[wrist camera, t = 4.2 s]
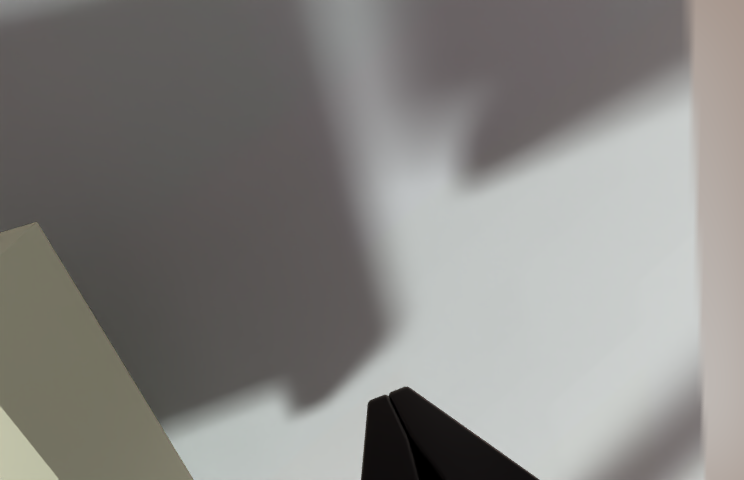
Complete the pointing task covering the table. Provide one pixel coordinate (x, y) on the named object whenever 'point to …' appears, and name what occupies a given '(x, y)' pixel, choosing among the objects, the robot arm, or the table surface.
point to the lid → (66, 381)
